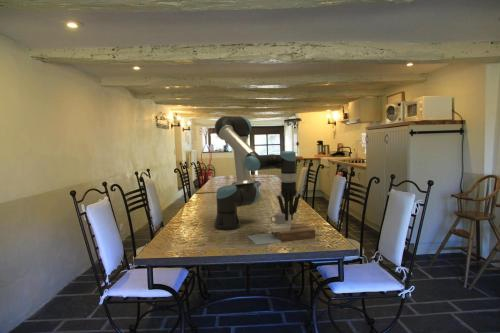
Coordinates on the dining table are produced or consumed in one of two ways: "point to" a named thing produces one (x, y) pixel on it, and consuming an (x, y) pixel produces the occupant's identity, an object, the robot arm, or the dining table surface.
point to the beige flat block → (279, 227)
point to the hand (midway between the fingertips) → (288, 226)
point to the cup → (279, 218)
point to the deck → (295, 233)
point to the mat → (264, 239)
